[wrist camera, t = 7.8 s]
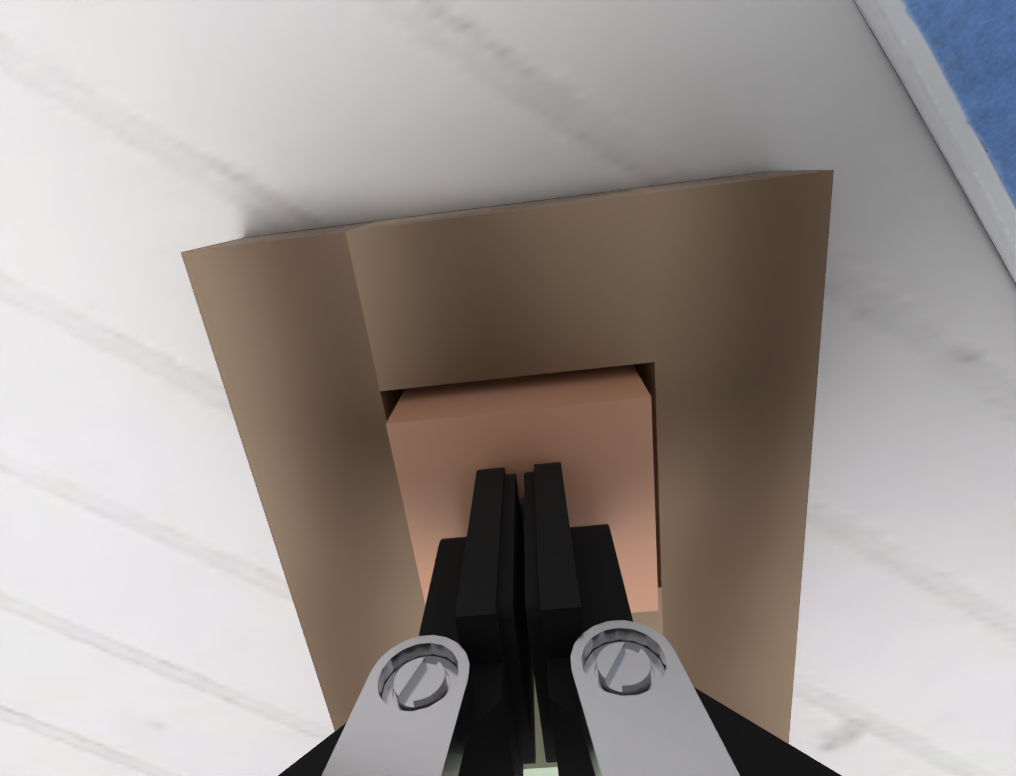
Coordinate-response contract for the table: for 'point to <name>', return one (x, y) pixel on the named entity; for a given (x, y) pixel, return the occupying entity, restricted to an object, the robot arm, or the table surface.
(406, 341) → the button board
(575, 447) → the button one dot
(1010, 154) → the blue rectangular pad
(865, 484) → the table surface
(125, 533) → the table surface
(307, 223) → the table surface
